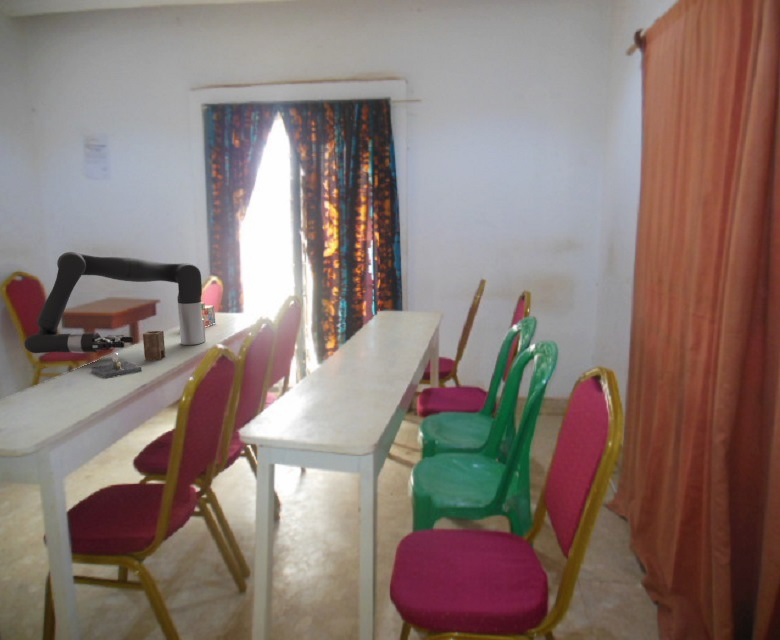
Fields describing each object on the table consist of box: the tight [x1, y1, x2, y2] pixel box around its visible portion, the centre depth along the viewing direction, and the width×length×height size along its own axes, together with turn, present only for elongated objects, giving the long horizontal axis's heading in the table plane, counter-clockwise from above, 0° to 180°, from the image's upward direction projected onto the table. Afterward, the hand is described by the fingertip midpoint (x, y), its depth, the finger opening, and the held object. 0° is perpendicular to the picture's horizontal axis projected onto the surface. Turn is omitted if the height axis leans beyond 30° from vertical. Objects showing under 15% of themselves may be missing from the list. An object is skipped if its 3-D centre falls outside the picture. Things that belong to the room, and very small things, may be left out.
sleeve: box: [142, 330, 166, 361], centre depth 220 cm, size 6×6×10 cm
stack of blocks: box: [201, 301, 216, 326], centre depth 279 cm, size 21×6×12 cm, turn 169°
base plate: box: [90, 352, 142, 379], centre depth 203 cm, size 12×12×6 cm
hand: (128, 341), depth 220 cm, fingers open, 8 cm apart
